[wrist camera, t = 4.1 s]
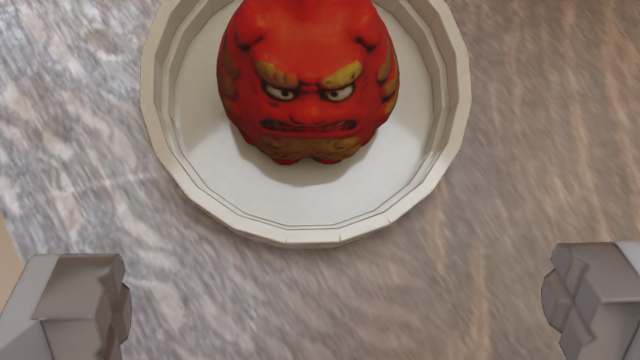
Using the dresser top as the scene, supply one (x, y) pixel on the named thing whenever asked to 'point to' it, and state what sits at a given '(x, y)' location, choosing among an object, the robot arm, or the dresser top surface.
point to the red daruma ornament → (307, 77)
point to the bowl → (308, 175)
